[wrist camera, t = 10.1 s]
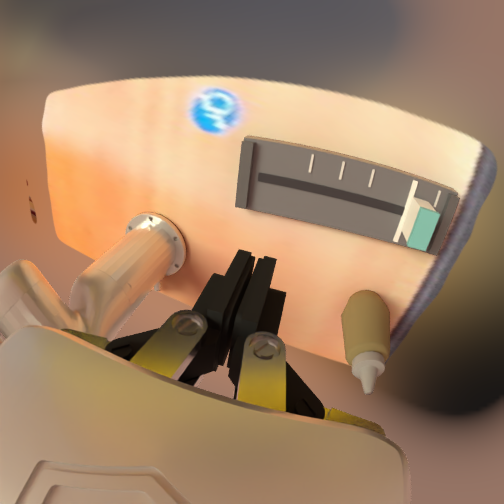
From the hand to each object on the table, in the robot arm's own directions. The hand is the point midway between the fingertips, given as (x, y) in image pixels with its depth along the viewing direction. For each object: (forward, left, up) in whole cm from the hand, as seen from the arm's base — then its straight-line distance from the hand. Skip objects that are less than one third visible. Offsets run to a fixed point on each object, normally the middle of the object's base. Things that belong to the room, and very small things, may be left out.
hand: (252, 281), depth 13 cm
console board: (-4, -7, -28) cm, 29 cm away
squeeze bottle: (-22, -15, -29) cm, 39 cm away
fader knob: (-4, -17, -26) cm, 31 cm away
